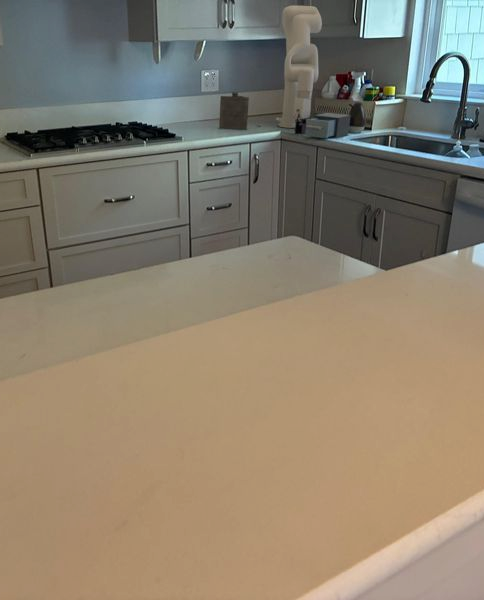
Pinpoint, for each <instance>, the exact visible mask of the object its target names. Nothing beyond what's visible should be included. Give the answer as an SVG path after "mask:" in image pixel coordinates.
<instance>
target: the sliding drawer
mask: <svg viewBox="0 0 484 600" xmlns="http://www.w3.org/2000/svg"><path fill="white" fill-rule="evenodd" d="M336 123H337V119H329V118H320V117H319V118H314V117H313V118H309V119H307V121H306V131H305V134H304V136H305V137H310V138H311V137H312V138H318V139H319V138H320V139H328V138H330V136H334V135H335V132H336Z"/></svg>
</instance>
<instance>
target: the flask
mask: <svg viewBox="0 0 484 600" xmlns="http://www.w3.org/2000/svg"><path fill="white" fill-rule="evenodd" d="M238 94H239V91H231V95H220V100H219V101H220V102H219V121H218V122H219V123H218V128H219V129H221V130H222V129H224V130H225V129H226V130H239V131H241V130H242V131H247V130H248V119H249V104H250V97H249V96H243V95H238Z"/></svg>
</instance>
